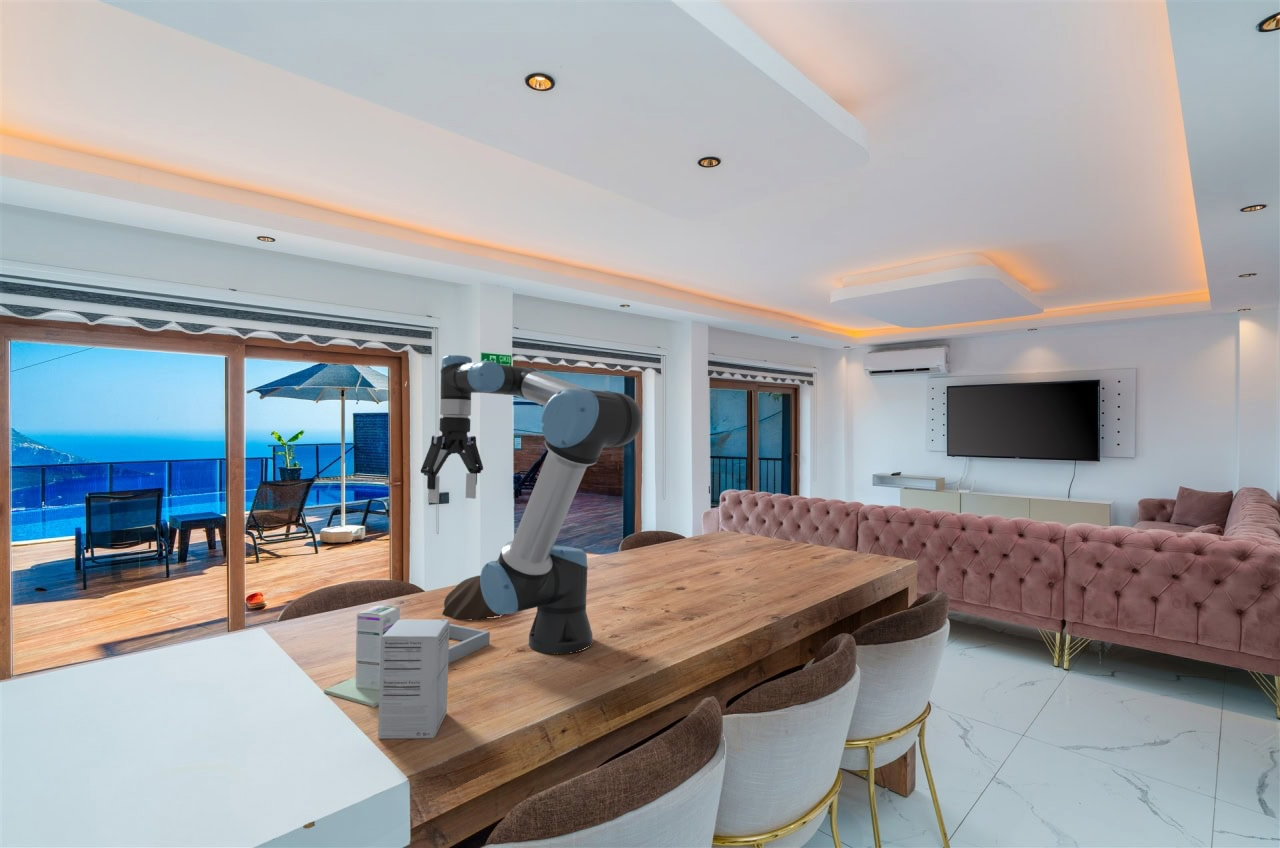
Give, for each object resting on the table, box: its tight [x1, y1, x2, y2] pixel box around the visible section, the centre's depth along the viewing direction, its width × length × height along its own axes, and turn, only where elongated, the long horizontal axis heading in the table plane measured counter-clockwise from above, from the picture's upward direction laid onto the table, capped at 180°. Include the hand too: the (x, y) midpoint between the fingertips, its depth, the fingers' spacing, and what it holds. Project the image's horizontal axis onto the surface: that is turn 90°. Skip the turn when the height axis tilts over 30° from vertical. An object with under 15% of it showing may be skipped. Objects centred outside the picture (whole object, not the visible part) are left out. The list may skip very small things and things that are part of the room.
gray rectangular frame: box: [448, 623, 491, 664], centre depth 139 cm, size 15×23×3 cm, turn 155°
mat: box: [323, 676, 380, 708], centre depth 120 cm, size 13×13×1 cm
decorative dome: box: [442, 574, 500, 621], centre depth 174 cm, size 19×20×10 cm
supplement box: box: [377, 618, 451, 740], centre depth 105 cm, size 10×9×17 cm
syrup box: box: [355, 605, 401, 691], centre depth 120 cm, size 6×6×14 cm
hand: (452, 500), depth 156 cm, fingers open, 13 cm apart
